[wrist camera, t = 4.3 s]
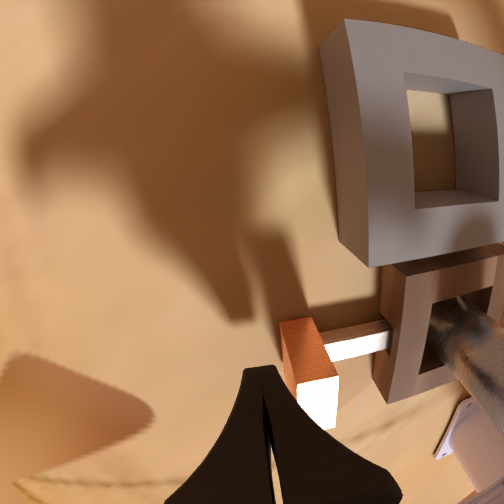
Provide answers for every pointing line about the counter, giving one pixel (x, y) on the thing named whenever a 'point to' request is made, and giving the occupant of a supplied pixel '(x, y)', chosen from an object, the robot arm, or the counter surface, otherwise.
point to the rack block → (400, 141)
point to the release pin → (325, 360)
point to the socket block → (419, 310)
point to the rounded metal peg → (471, 352)
